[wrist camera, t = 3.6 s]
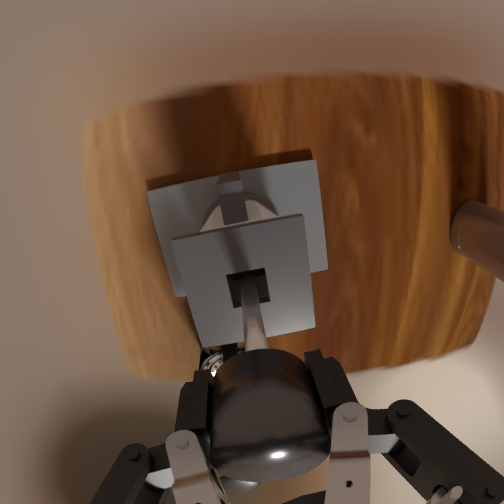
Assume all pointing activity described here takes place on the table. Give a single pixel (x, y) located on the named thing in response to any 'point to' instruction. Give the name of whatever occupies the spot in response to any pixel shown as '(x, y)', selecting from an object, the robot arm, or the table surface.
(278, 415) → the plunger
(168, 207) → the slate board
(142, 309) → the table surface
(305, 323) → the carafe
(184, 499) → the robot arm
